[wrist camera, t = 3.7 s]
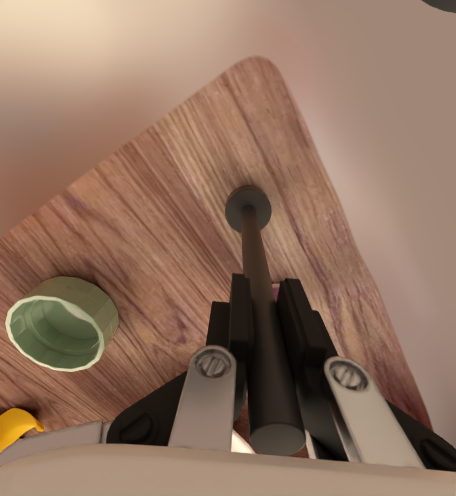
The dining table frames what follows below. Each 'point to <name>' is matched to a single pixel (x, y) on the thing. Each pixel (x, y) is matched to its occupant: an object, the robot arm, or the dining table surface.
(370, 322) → the dining table surface
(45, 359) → the green round dish
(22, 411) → the banana peel
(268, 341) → the disc-footed rod
